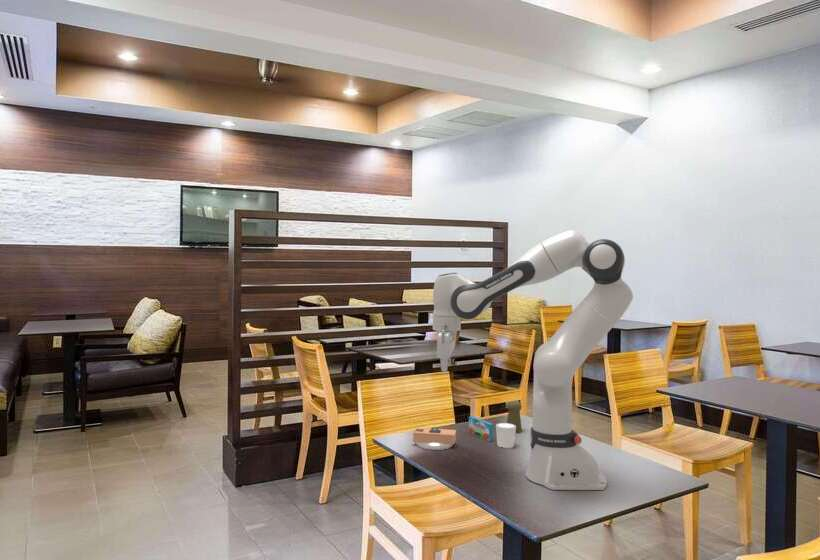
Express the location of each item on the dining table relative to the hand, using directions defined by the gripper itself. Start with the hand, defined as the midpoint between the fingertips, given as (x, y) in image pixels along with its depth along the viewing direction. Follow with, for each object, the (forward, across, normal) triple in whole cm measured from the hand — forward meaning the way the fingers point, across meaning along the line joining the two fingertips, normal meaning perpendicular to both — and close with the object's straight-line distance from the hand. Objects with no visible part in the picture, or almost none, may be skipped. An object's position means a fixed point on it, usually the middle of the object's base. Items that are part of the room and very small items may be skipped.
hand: (445, 368), depth 176 cm
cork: (+29, +37, -22) cm, 52 cm away
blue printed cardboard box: (+29, +27, -10) cm, 41 cm away
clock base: (+29, +15, +5) cm, 33 cm away
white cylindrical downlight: (+29, +19, -19) cm, 40 cm away
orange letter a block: (+28, +15, +5) cm, 32 cm away
